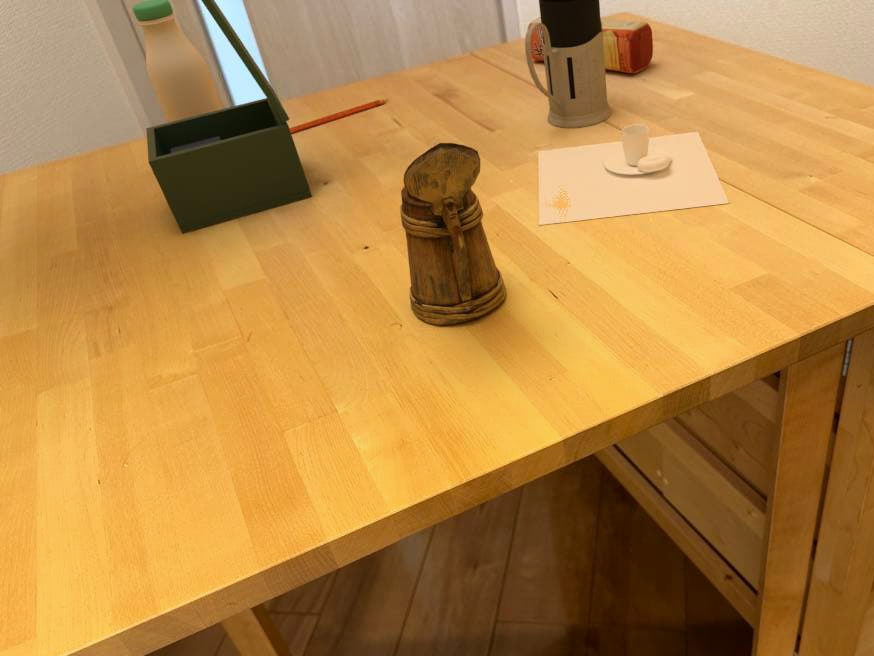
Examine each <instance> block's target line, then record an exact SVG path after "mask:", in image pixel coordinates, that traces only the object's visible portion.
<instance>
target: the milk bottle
mask: <svg viewBox="0 0 874 656" xmlns="http://www.w3.org/2000/svg"><path fill="white" fill-rule="evenodd" d="M132 13H133V14H134V17H135V19H136V20H137V22H138V25H139V26H141V29H142V30H143V34H144V40H145V64H146V71H147V74H148V78H149V81H150V84H151V86H152V88H153V91H154V94H155V96H156V98H157V100H158V102H159V105H160V108H161V111H162V113H163V115H164V117H165V120H166V121H167V122H166V123H169V122H173V121H177V120H181V119H185V118H189V117H193V116H197V115H201V114H205V113H209V112H213V111H217V110H221V109H225V108H224V105H223V103H222V99H221V97H220V96H219V93H218V90H217V87H216V85H215V83H214V80H213V77H212V75H211V73H210V71H209V68H208V66H207V64H206V62H205V60H204V58H203V57H202V55H201V54H200V52H199V51H198V49H196V47H195V46H194V45H193V43H191V42H190V41H189V40H188V38H187V37H186V35H184V34H183V33H184V32H182V30H181V29H180V28H179V26H178V24H177V23H176V19H175V18H176V15H175V14H174V10H173V6H172V5H171V2H170V0H145V1H141V2H139V3H136V4H134V5H133V6H132Z"/></svg>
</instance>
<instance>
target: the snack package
mask: <svg viewBox="0 0 874 656" xmlns="http://www.w3.org/2000/svg"><path fill="white" fill-rule="evenodd" d="M601 22H602V30H603V44H604V60H605V70H609V71H614V72H622V73H627V74H637V73H639V72H640V71H642V70H644V69H646V68H647V66H649V64H650V63H651V62H652V59H653V56H654V55H653V54H654V41H653V40H654V39H653V30H652V27H651V24H649V22H647V21H644V20H623V19H601ZM533 23H541V16H539V17H537V18H536V19H534V20H532V21H531V22H530V23H529V24H528V26H527V31H528V28H529V27H530V26H531V25H532V24H533ZM527 31H526V32H527ZM542 38H543V33H542V30H541V29H540V27H539V26H537V27H536V28H535V29H534V30H533V33H532V35H531V54H532V60H535V61H539V62H541V61H542V62H544V55H543V46H542Z"/></svg>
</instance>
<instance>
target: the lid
mask: <svg viewBox="0 0 874 656" xmlns="http://www.w3.org/2000/svg"><path fill="white" fill-rule="evenodd" d="M200 1H201V2H202V4H203V5H204V7H205V8H206V10H207V11H208V12H209V14H210V16H211V17H212V18H213V20H214V21H215V23H216V25H217V26H218V27H219V29H220V30H221V32H222V33H223V35H224V36H225V39H227V41H228V42H229V44H230V46H231V47H232V48H233V49H234V51H235V53H236V55H238V57H239V58H240V60H241V61H242V63H243V64H244V66H245V68H246V69H247V70H248V72H249V73H250V75H251V76H252V78H253V79H254V81H255V83H256V84H257V85H258V87H259V88H260V89H261V91H262V93H263V94H264V96H265V98H268V100H269V101H270V103H271V104H272V106H273V107H274V109H275V110H276V112H277V113H278V115H279V116H280V118H281V119H282V121H283V122H288V121H290V117H289V115H288V113H287V112H286V109H285V107H284V106H283V104H282V103H281V100H280V99H279V97H278V95H277V93H276V91H275V90H274V88H273V87H272V85H271V84H270V81H268V79H267V77H266V76H265V75H264V73H263V72H262V70H261V69H260V67H259V66H258V64H257V62H256V61H255V59H254V58H253V56H252V55H251V53H250V52H249V51H248V49H247V47H246V46H245V44H244V42H243V41H242V40H241V38H240V37H239V35H238V34H237V32H236V31H235V29H234V28H233V26H232V25H231V23H230V21H228V20H229V19H227V17H226V16H225V14H224V13H223V11H222V9H220V6H219V5H218V4H217V2H216V1H215V0H200Z"/></svg>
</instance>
